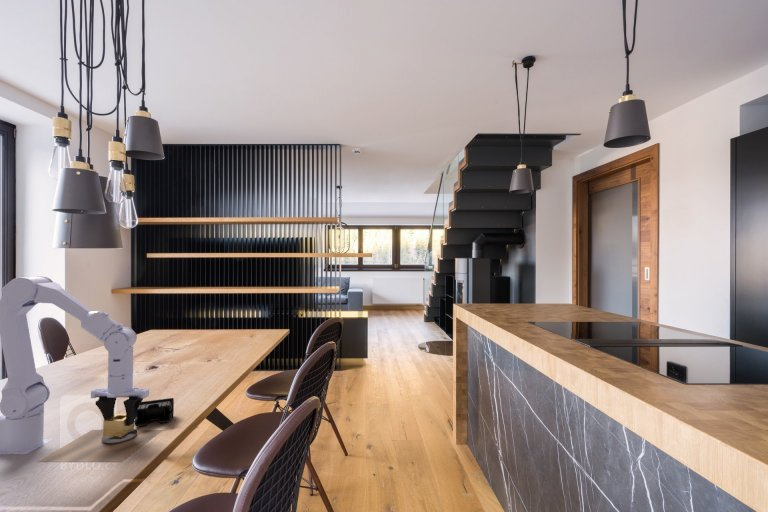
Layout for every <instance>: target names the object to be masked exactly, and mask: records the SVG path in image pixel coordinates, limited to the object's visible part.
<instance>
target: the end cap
mask: <svg viewBox="0 0 768 512" xmlns="http://www.w3.org/2000/svg"><path fill="white" fill-rule="evenodd" d="M174 405H175V398H174V397H169V398H162V399H161V398H160V399H152V400H145V401H142V402H141V404H140V406H139V408H138V410H137V413H136V416H135V420H134V427H142V426H144V427H145V426H147V425H148V423H150V422H157V421H158V423H159V424H163V423H169V422H170V421H171V420H172V419H173V418H174V410H175V408H174V407H175V406H174Z"/></svg>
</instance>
